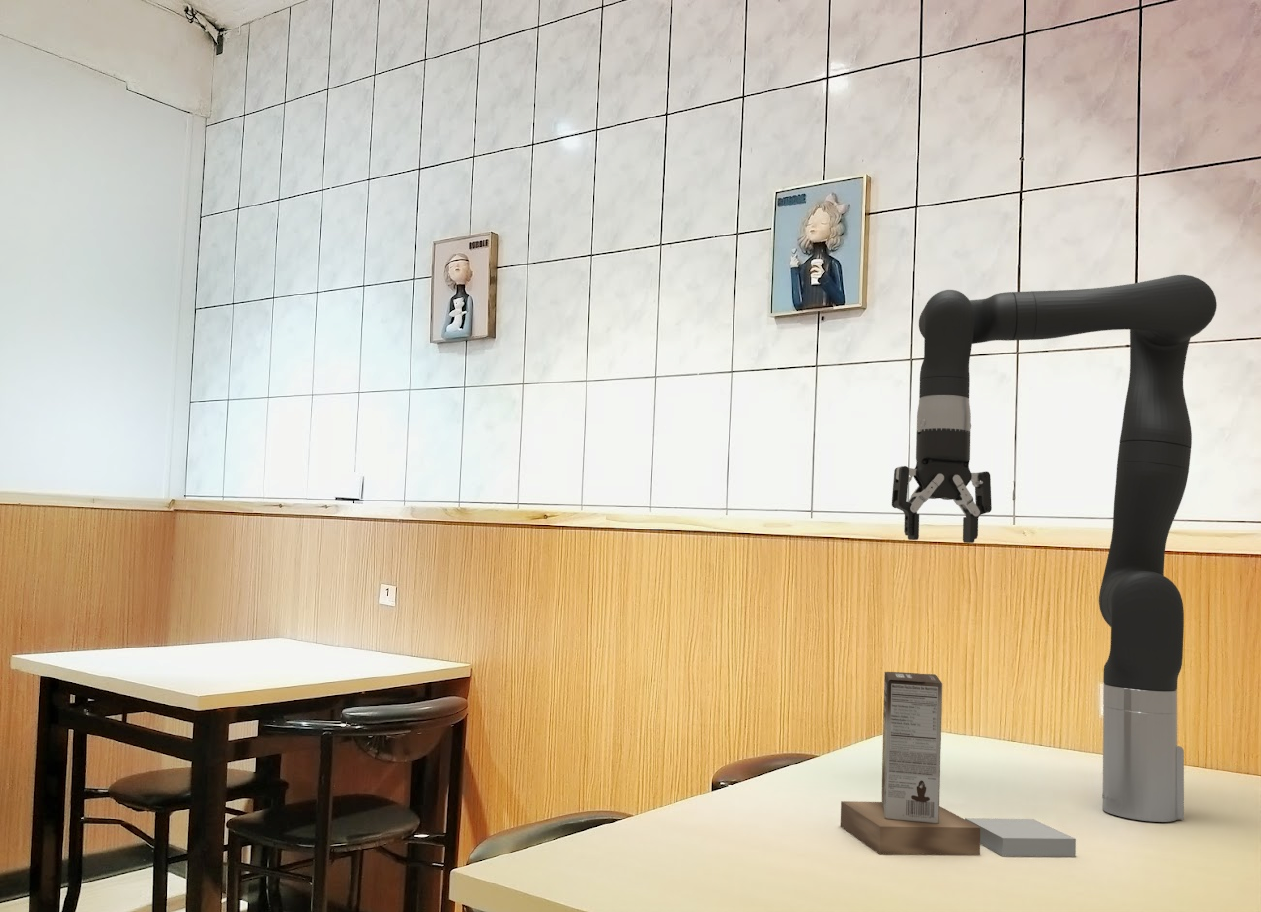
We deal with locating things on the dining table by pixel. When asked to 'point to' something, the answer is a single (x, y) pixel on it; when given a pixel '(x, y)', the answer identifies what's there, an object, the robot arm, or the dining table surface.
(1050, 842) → the grey coaster
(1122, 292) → the robot arm
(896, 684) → the coffee box
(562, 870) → the dining table surface
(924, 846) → the walnut base
